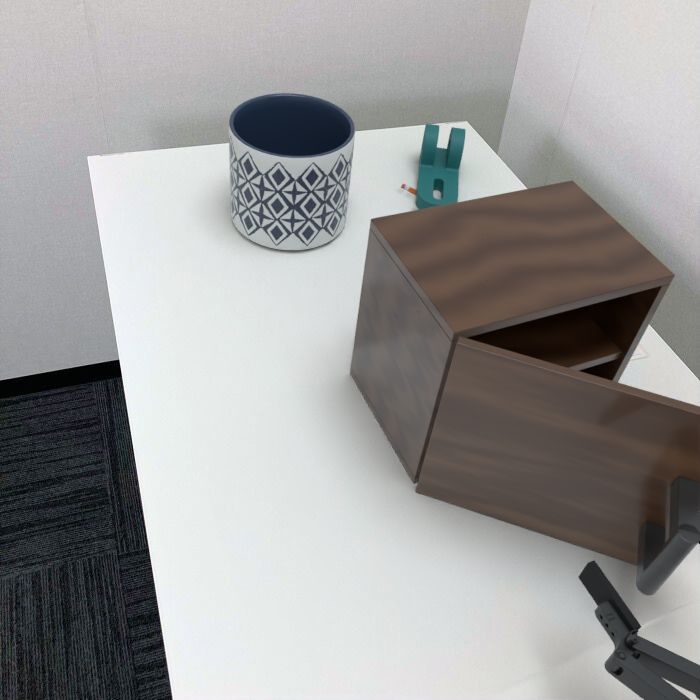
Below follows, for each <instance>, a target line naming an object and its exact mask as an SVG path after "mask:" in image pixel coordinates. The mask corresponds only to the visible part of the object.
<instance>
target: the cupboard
mask: <svg viewBox="0 0 700 700" xmlns="http://www.w3.org/2000/svg"><path fill="white" fill-rule="evenodd" d="M367 238H368V239H367V245H366V252H365V260H364V266H363V275H362V280H361V289H360V294H359V295H360V297H359V302H358V304H359V305H358V311H357V318H356V325H355V333H354V340H353V348H352V354H351V361H350V370H349V375H350V376H351V378H352V380H353V382H354V384H355V385H356V387H357V389H358V391H359V392H360V394H361V395H362V397H363V399H364V401H365V403H366V404H367V406H368V408H369V409H370V411H371V413H372V414H373V416H374V418H375V420H376V421H377V423H378V425H379V427H380V429H381V430H382V432H383V434H384V436H385V437H386V439H387V441H388V442H389V444H390V446H391V448H392V450H393V451H394V453H395V455H396V456H397V458H398V460H399V462H400V463H401V465H402V466H403V468H404V470H405V472H406V474H407V476H408V477H409V479H410V481H411V482H412V484H418V480H419V477H420V473H421V470H422V466H423V463H424V459H425V455H426V452H427V448H428V445H429V441H430V438H431V434H432V430H433V427H434V423H435V420H436V416H437V413H438V409H439V406H440V402H441V398H442V395H443V391H444V388H445V384H446V381H447V377H448V373H449V370H450V366H451V363H452V359H453V356H454V352H455V348H456V345H457V341H458V338H459V336H461V337H464V338H467V339H471V340H474V341H478V342H481V343H485V344H488V345H491V346H495V347H498V348H502V349H505V350H508V351H512V352H515V353H519V354H522V355H526V356H529V357H532V358H536V359H539V360H543V361H546V362H550V363H553V364H556V365H560V366H563V367H567V368H570V369H573V370H577V371H580V372H584V373H587V374H591V375H594V376H597V377H601V378H604V379H608V380H611V381H614V382H618V383H619V382H620V380H621V378H622V377H623V374H624V372H625V370H626V368H627V366H628V365H629V363H630V361H631V359H632V357H633V355H634V353H635V351H636V350H637V348H638V346H639V344H640V342H641V340H642V338H643V336H644V335H645V333H646V331H647V329H648V327H649V325H650V324H651V321H652V320H653V318H654V315H655V314H656V312H657V310H658V308H659V306H660V305H661V304H662V303H661V302H662V301H663V299H664V298H665V296H666V293H667V291H668V290H669V288H670V286H671V283H672V282H673V280H674V278H675V276H676V274H675V273H674V272H673V271H672V270H671V269H669V268H668V266H667V265H666V264H664V263H663V262H662V261H661V260H660V259H658V257H657V256H655V255H654V254H653V253H652V252H651V251H650V250H649V249H648V248H647V247H646V246H644V244H642V243H641V242H640V241H639V240H638V239H637V238H636V237H635V236H634V235H633V234H632V233H630V232H629V231H628V230H627V229H626V228H625V227H624V226H623V225H622V224H621V223H620V222H618V220H616V219H615V218H614V217H613V216H612V215H611V214H610V213H609V212H607V210H605V209H604V208H603V207H602V206H601V205H600V204H599V202H597V201H596V200H595V199H594V198H593V197H591V196H590V195H589V194H588V193H587V192H586V191H585V190H584V189H583V188H582V187H580V185H579V184H577V183H576V181H574V180H573V179H571V180H566V181H561V182H556V183H551V184H545V185H542V186H535V187H531V188H530V187H529V188H525V189H520V190H515V191H509V192H503V193H498V194H494V195H488V196H483V197H478V198H472V199H469V200H468V199H467V200H462V201H457V202H456V203H451V204H446V205H441V206H435V207H430V208H425V209H420V210H419V209H415V210H410V211H405V212H399V213H394V214H388V215H383V216H379V217H373V218H370V224H369V231H368V237H367Z"/></svg>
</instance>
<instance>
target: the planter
mask: <svg viewBox="0 0 700 700" xmlns="http://www.w3.org/2000/svg"><path fill="white" fill-rule="evenodd" d="M355 139H356V126H355V122H354V120H353V119H352V117H351V116H350V115H349V114H348V112H346V111H345V110H344V109H343V108H341V107H340V106H338V105H337V104H335V103H333V102H331V101H329V100H326V99H323V98H320V97H316V96H313V95H308V94H302V93H290V92H289V93H288V92H278V93H269V94H268V93H267V94H263V95H258V96H256V97H253V98H250V99H248V100H246V101H245V100H244V101H243V102H242V103H240V104H239V105H237V106H236V107H235V108H234V109H233V110H232V112H231V114H230V116H229V119H228V153H229V155H228V156H229V190H230V191H229V192H230V216H231V221H232V223H233V225H234V226H235V228H236V229H237V231H238V232H240V234H241V235H243V237H245V238H247V239H248V240H249V241H251V242H254V243H256V244H258V245H261V246H263V247H266V248H270V249H274V250H280V251H281V250H282V251H302V250H309V249H315V248H317V247H320V246H323V245H325V244H327V243H330V242H331V241H333V240H334V239H335V238H337V237H338V236H339V235H340V233H341V232H342V231H343V229H344V228H345V225H346V221H347V214H348V213H347V212H348V205H349V204H348V203H349V194H350V186H351V176H352V168H353V157H354V149H355V148H354V147H355Z"/></svg>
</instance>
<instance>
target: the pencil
mask: <svg viewBox="0 0 700 700" xmlns="http://www.w3.org/2000/svg"><path fill="white" fill-rule="evenodd" d="M400 188H402V189H404V190H405V191H407V192H410V193H412V194H414V195H416V194H417V189H415V188H413V187H411V186H409V185H407V184H405V183H402V184H401V187H400Z"/></svg>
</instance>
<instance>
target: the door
mask: <svg viewBox="0 0 700 700" xmlns="http://www.w3.org/2000/svg"><path fill="white" fill-rule="evenodd" d="M415 493H417V494H420V495H423V496H427V497H429V498H432V499H436V500H439V501H442V502H445V503H448V504H449V505H454V506H456V507H460V508H463V509H466V510H469V511H471V512H474V513H478V514H481V515H483V516H486V517H490V518H493V519H496V520H499V521H502V522H505V523H507V524H511V525H514V526H517V527H520V528H523V529H527V530H529V531H532V532H536V533H539V534H542V535H545V536H546V537H550V538H554V539H557V540H560V541H563V542H566V543H569V544H572V545H576V546H577V547H581V548H584V549H587V550H590V551H593V552H595V553H596V552H597V553H600V554H603V555H605V556H608V557H612V558H615V559H617V560H620V561H623V562H626V563H629V564H632V565H635V566H636V570H635V571H636V573H635V575H636V576H635V586H636V588H637V590H638V592H640V593H641V594H642V595H644V596H649V597H651V596H654V595H655V594H656V593H657V592H658V591H659V590H660V589H661V587H663V585H664V584H665V583H666V582H667V580H668V579H669V578H670V577H671V576H672V575H673V574H674V572H675V571H676V570H677V569H678V567H679V566H680V565H681V564H682V563H683V561H684V560H685V559H686V558H687V557H688V555H689V554H690V553H691V552H692V551H693V550H694V548H695V547H696V546H697V545H699V541H700V405H696V404H692V403H689V402H686V401H683V400H680V399H676V398H672V397H669V396H665V395H663V394H659V393H656V392H651V391H649V390H646V389H641V388H639V387H635V386H631V385H628V384H624V383H621V382H619V381H618V382H614V381H611V380H608V379H604V378H601V377H597V376H594V375H591V374H587V373H584V372H580V371H577V370H573V369H570V368H567V367H563V366H560V365H556V364H553V363H550V362H546V361H543V360H539V359H536V358H532V357H529V356H526V355H522V354H519V353H515V352H512V351H508V350H505V349H502V348H498V347H495V346H491V345H488V344H485V343H481V342H478V341H474V340H471V339H467V338H464V337H461V336H459V338H458V341H457V345H456V348H455V352H454V356H453V359H452V363H451V366H450V370H449V373H448V377H447V381H446V384H445V388H444V391H443V395H442V398H441V402H440V406H439V409H438V413H437V416H436V420H435V423H434V427H433V430H432V434H431V438H430V441H429V445H428V448H427V452H426V455H425V459H424V463H423V466H422V470H421V473H420V477H419V480H418V482H417V483H416V487H415Z"/></svg>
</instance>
